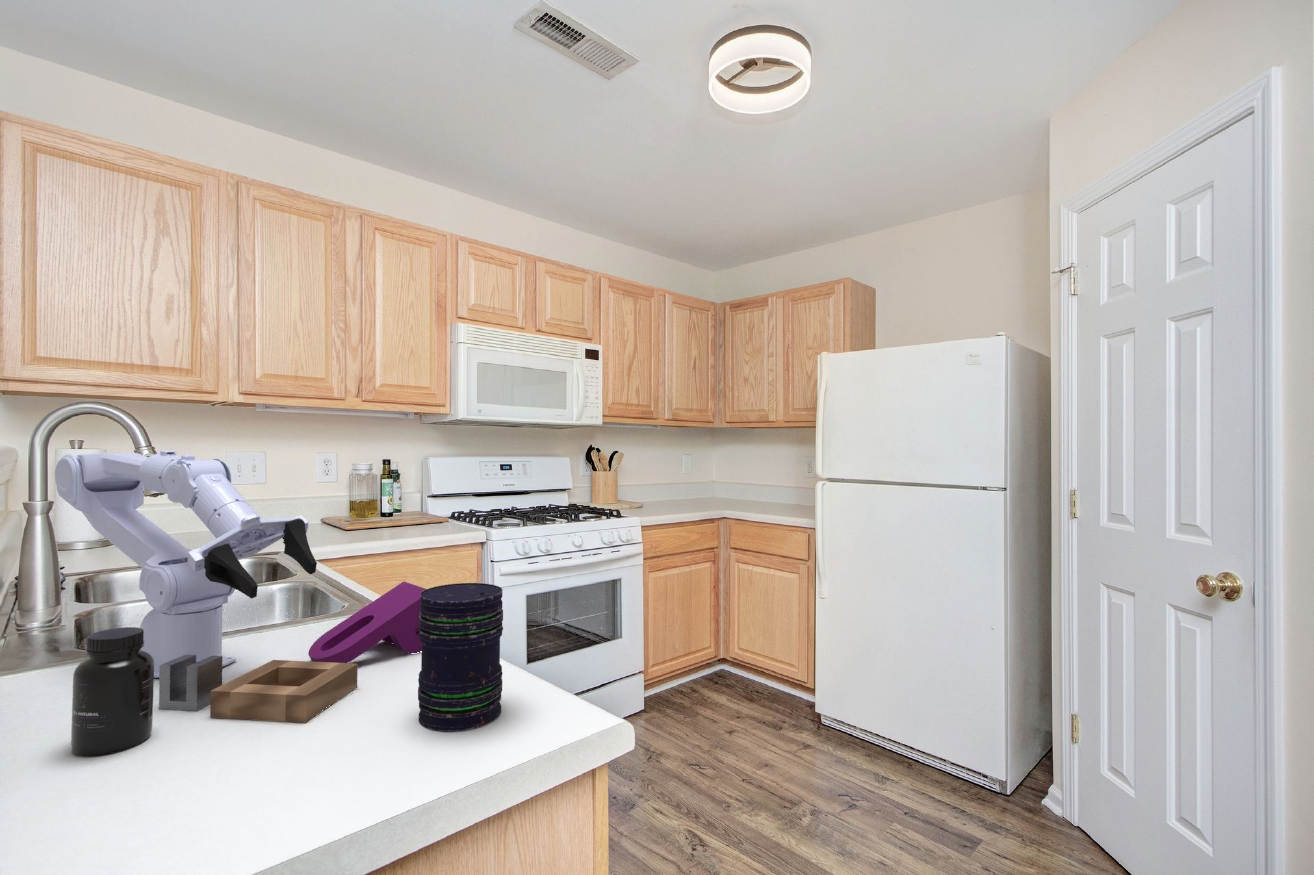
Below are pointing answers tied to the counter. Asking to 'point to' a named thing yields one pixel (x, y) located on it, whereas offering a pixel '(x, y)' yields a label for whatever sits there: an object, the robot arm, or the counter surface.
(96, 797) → the counter surface
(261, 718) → the well block
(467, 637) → the dark blue ribbed cylinder
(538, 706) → the counter surface
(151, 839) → the counter surface
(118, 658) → the supplement bottle
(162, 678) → the bracket
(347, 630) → the mounting bracket
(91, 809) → the counter surface
